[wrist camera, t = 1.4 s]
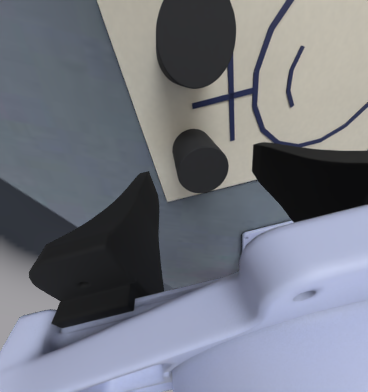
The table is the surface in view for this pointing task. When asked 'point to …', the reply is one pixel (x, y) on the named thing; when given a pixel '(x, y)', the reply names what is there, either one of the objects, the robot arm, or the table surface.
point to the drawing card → (252, 82)
